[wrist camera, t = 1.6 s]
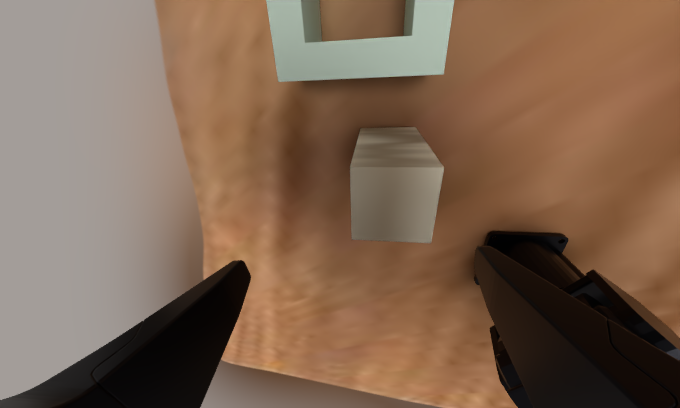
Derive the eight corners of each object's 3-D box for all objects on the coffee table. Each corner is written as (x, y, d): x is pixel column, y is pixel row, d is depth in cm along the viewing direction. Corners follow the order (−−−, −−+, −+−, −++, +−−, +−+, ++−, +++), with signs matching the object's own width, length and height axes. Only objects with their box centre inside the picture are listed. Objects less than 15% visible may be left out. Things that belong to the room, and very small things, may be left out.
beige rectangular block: (412, 123, 19) (443, 167, 10) (408, 171, 21) (431, 243, 12) (361, 124, 19) (349, 166, 11) (361, 171, 21) (351, 239, 13)
